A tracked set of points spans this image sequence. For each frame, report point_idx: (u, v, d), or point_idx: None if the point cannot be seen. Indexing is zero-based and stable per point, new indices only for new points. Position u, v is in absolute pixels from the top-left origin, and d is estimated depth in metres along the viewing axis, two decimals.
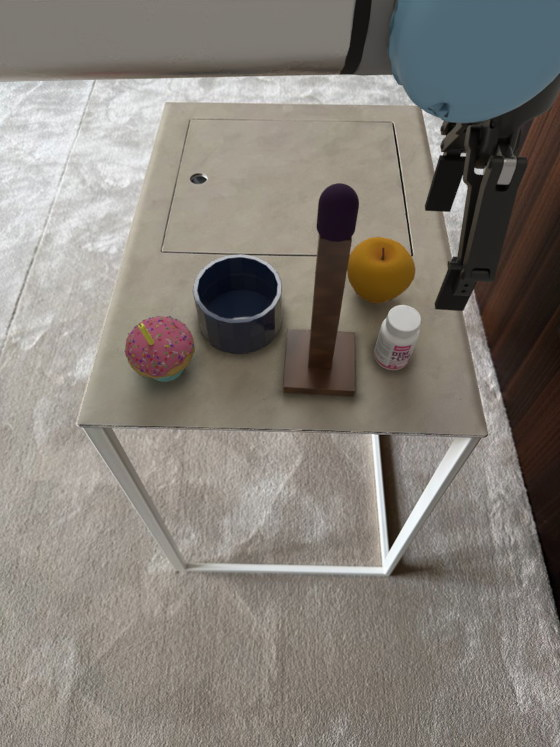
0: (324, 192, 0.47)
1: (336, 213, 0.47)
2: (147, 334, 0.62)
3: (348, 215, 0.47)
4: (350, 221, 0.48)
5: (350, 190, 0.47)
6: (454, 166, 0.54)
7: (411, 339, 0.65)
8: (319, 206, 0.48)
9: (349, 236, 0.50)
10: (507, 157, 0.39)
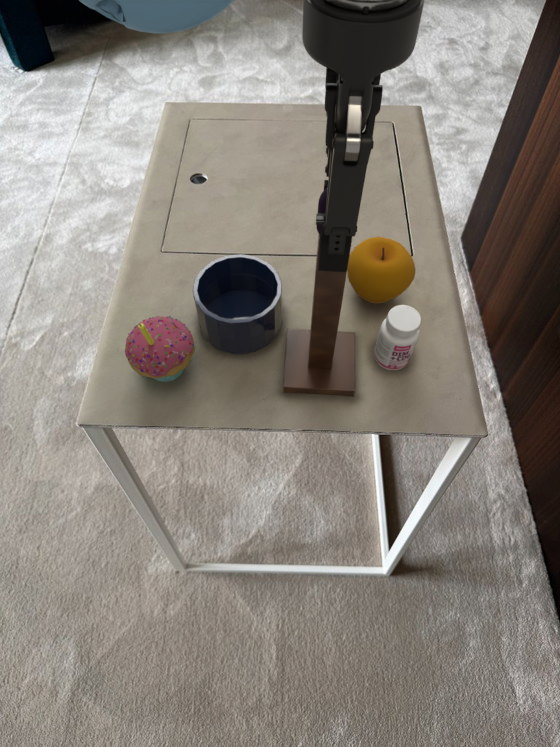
0: (324, 192, 0.47)
1: None
2: (147, 334, 0.62)
3: None
4: None
5: None
6: None
7: (411, 338, 0.65)
8: (319, 206, 0.48)
9: None
10: (351, 139, 0.36)
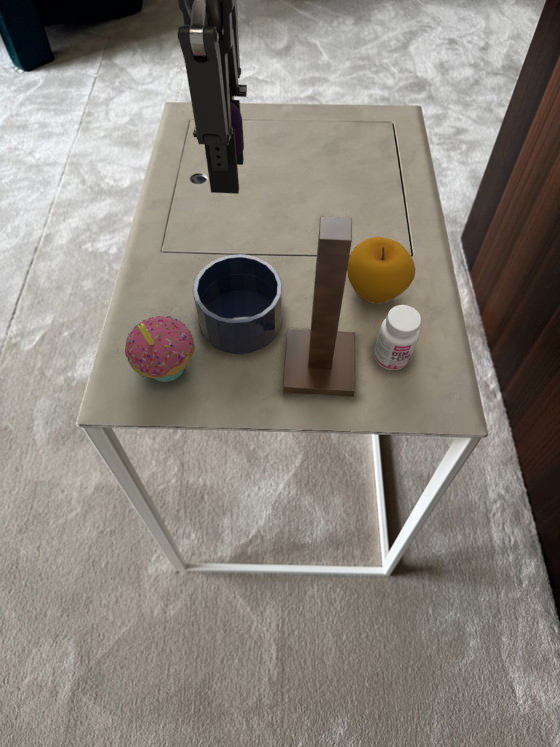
0: None
1: None
2: (147, 334, 0.62)
3: None
4: None
5: (230, 105, 0.48)
6: None
7: (411, 339, 0.65)
8: None
9: None
10: (193, 29, 0.37)
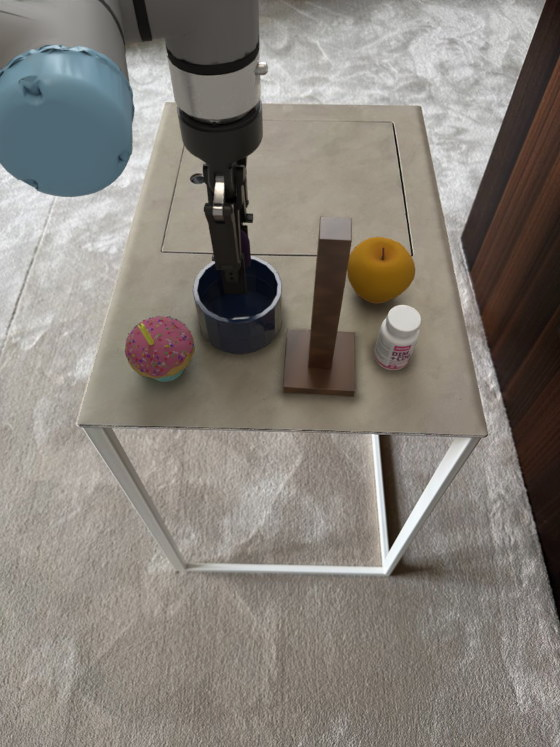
0: None
1: None
2: (147, 334, 0.62)
3: None
4: None
5: (240, 233, 0.61)
6: None
7: (411, 339, 0.65)
8: None
9: (245, 267, 0.64)
10: (215, 207, 0.50)
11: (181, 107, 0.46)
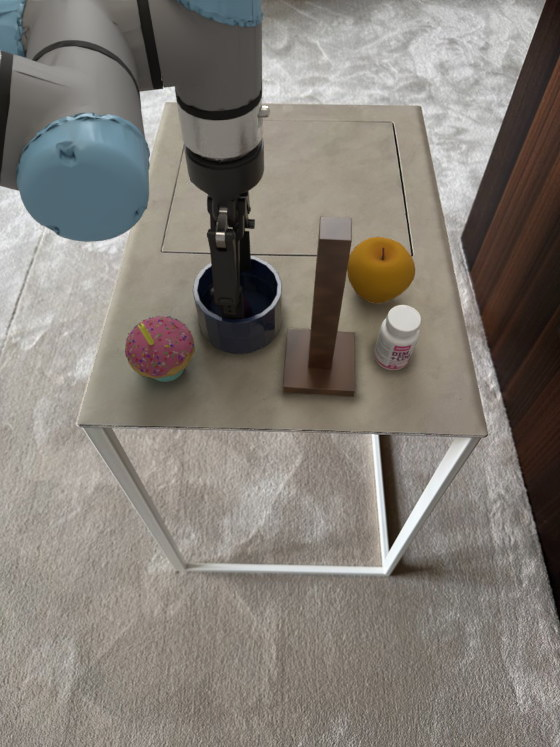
0: None
1: None
2: (147, 334, 0.62)
3: None
4: (246, 317, 0.71)
5: None
6: None
7: (411, 338, 0.65)
8: None
9: None
10: (218, 232, 0.52)
11: (188, 146, 0.49)
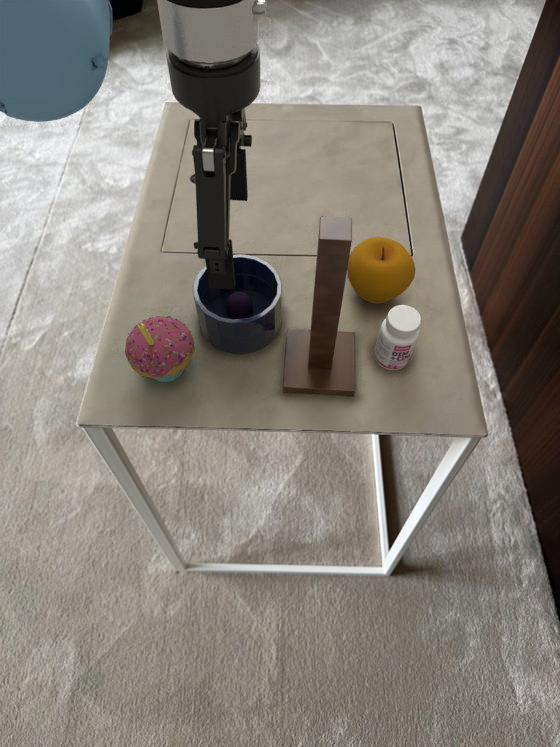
0: (228, 300, 0.71)
1: (238, 313, 0.71)
2: (147, 334, 0.62)
3: (246, 312, 0.71)
4: (249, 315, 0.72)
5: (245, 296, 0.71)
6: None
7: (411, 338, 0.65)
8: (226, 309, 0.72)
9: None
10: (206, 146, 0.44)
11: (171, 49, 0.41)
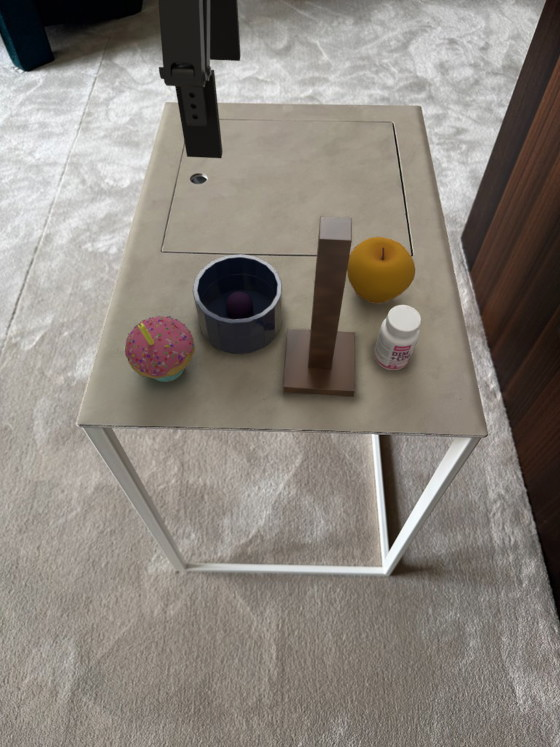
0: (228, 300, 0.71)
1: (238, 313, 0.71)
2: (147, 334, 0.62)
3: (246, 312, 0.71)
4: (249, 315, 0.72)
5: (245, 296, 0.71)
6: None
7: (411, 339, 0.65)
8: (226, 309, 0.72)
9: None
10: None
11: None
